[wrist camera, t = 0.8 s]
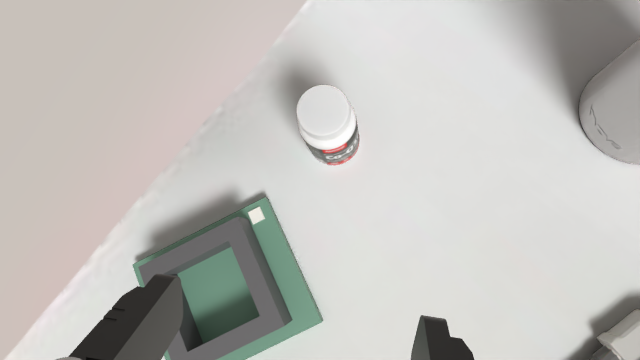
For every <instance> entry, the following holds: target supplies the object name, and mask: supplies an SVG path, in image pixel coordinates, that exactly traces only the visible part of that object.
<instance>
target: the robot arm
mask: <svg viewBox="0 0 640 360" xmlns="http://www.w3.org/2000/svg"><path fill="white" fill-rule="evenodd" d="M579 117H580V120H581V124H582V127H583V129H584V131H585V133H586V135H587V136H588V138H589V139H590V140H591V141H592V142H593V144H594V145H595V146H596V147H597V148H599V149H600V150H601V151H603V152H604V153H605V154H607V155H609V156H611V157H613V158H615V159H616V160H620V161H623V162H626V163H630V164H638V165H640V39H638V40H637V41H636V42H635V43H634V44H632V45H631V46H630V47H629V48H628V49H626V50H625V51H624V52H623V53H621V54H620V55H619V56H618V57H617V58H615V59H614V60H613V61H612V62H611V63H609V64H608V65H607V66H606V67H605V68H603V69H602V70H601V71H600V72H599V73H598V74H596V75H595V76H594V77H593V78H592V79H591V80H590V81H589V83H588V84H587V85H586V86H585V88H584V90H583V93H582V95H581V98H580V103H579ZM182 319H183V300H182V285H181V279H180V277H177V276H170V275H164V274H155V275H154V276H153V277H152V278H151V280H150V281H149V282H148V283H147V284H146V286H145V287H138V286H137V287H136V288H134V289H133V290H131V291H129V292H128V293H126V294H125V295H123V296H122V297H121V298H120V299H119V300H118V301H117V303H116V304H115V305H114V306H113V307H112V310H109V312H108V313H107V314H106V315H105V316H104V318H103V320H101V321H100V322H99V323H98V324H97V325H96V326H95V327H94V328H93V330H92V331H91V332H90V333H89V334H88V335H87V336H86V337H85V339H84V340H83V341H82V342H81V343H80V344H79V345H78V346H77V348H76V349H75V350H74V351H73V352H72V353H71V354H70V355H69V356H68V357H65V358H60V359H56V360H161V359H162V357H163V355H164V354H165V352H166V351H167V349H168V347H169V346H170V344H171V342H172V341H173V339H174V338H175V336H176V334H177V333H178V331H179V329H180V326H181V323H182ZM411 360H474V357H473V354H472V352H471V351H470V349H469V348H468V347H467V345H466V344H465V343H464V341H463V340H462V339H460V338H454V337H450V334H449V330H448V326H447V322H446V320H445V319H442V318H436V317H430V316H423V315H421V317H420V320H419V324H418V328H417V332H416V336H415V340H414V344H413V349H412V354H411Z"/></svg>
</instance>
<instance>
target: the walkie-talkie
mask: <svg viewBox="0 0 640 360" xmlns="http://www.w3.org/2000/svg"><path fill="white" fill-rule="evenodd" d="M597 339H598V341H599V342H600V343H601V344H602V345H603V346H602V347H601V348H600V349H598V350H597V351H596V352H595V353H593V354H592V356H593V357H592V358H591V359H590V360H640V309H635V310H634V311H633V312H631V313H630V314H629V315H627V316H626V317H625V318H624V319H622V320H621V321H620V322H619V323H617V324H616V325H615V326H614V327H612V328H611V329H610V330H609V331H607V332H603V333H601V334H600V335H599V336H598V337H597Z"/></svg>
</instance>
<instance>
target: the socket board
mask: <svg viewBox="0 0 640 360" xmlns="http://www.w3.org/2000/svg"><path fill="white" fill-rule="evenodd" d="M133 268H134V271H135V273H136V276H137V279H138V282H139V285H140V287H145V286H146V284H147V283H148V282H149V281H150V280H151V278H152V277H153V276H154V275H155V274H164V275H170V276H177V277H180V279H181V285H182V300H183V319H182V323H181V326H180V329H179V331H178V333H177V334H176V336H175V338H174V339H173V341H172V342H171V344H170V346H169V347H168V349H167V351H166V352H165V354H164V356H165V359H166V360H245V359H247V358H249V357H251V356H254V355H256V354H258V353H260V352H262V351H264V350H266V349H268V348H270V347H272V346H274V345H276V344H278V343H280V342H282V341H284V340H286V339H288V338H290V337H292V336H294V335H297V334H299V333H301V332H303V331H305V330H307V329H309V328H311V327H313V326H315V325H317V324H319V323H321V322H322V321H323V319H322V316H321V314H320V312H319V310H318V308H317V305H316V303H315V301H314V299H313V296H312V294H311V292H310V290H309V288H308V285H307V283H306V281H305V279H304V277H303V274H302V272H301V270H300V268H299V266H298V263H297V261H296V259H295V257H294V255H293V252H292V250H291V248H290V246H289V244H288V241H287V239H286V237H285V235H284V233H283V230H282V228H281V226H280V224H279V221H278V219H277V217H276V215H275V213H274V210H273V208H272V206H271V204H270V202H269V199H268V198H266V197H264V198H262V199H260V200H258V201H256V202H255V203H253V204H251V205H249V206H247V207H245V208H243V209H241V210H239V211H237V212H235V213H233V214H231V215H229V216H227V217H225V218H223V219H221V220H219V221H217V222H215V223H213V224H211V225H209V226H207V227H205V228H203V229H201V230H199V231H198V232H196V233H194V234H192V235H190V236H188V237H186V238H184V239H182V240H180V241H178V242H176V243H174V244H172V245H170V246H168V247H166V248H164V249H162V250H160V251H158V252H156V253H154V254H152V255H150V256H148V257H146V258H144V259H142V260H141V261H139V262H137V263H135V264H133Z"/></svg>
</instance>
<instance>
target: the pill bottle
mask: <svg viewBox="0 0 640 360" xmlns="http://www.w3.org/2000/svg"><path fill="white" fill-rule="evenodd" d="M296 114H297V119H298V128H299V131H300V134H301V136H302V138H303V139H304V141H305V142H306V144H307V146H308V147H309V149H310V151H311V152H312V154H313V155H314V156H315V158H316V159H317V160H319V161H320V162H322V163H324V164H327V165H341V164H343V163H345V162H347V161H349V160H350V159H351V158H352V157H353V156H354V155H355V153H356V152H357V149H358V146H359V133H358V127H357V119H356V114H355V111H354V109H353V107H352V105H351V104H350V102H349V101H348V100H347V98H346V96H345V94H344V93H343V92H342V91H341V90H339V89H338V88H336V87H334V86H331V85H317V86H314V87H312V88H310V89H308V90H307V91H306V92H305V93H304V94H303V95H302V96H301V98H300V99H299V101H298V104H297V109H296Z"/></svg>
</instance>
